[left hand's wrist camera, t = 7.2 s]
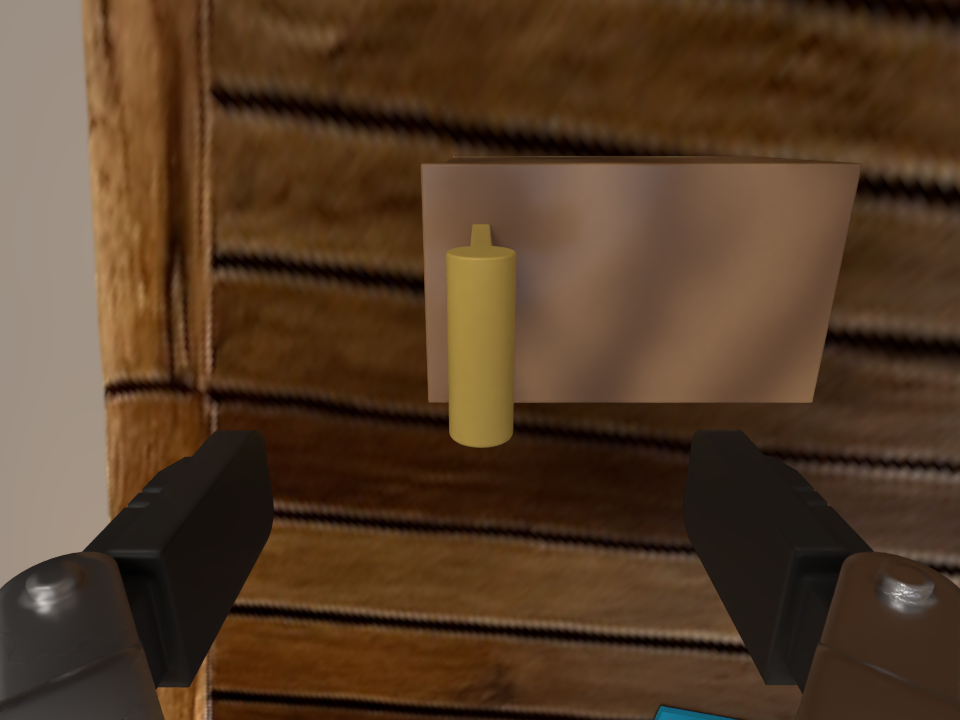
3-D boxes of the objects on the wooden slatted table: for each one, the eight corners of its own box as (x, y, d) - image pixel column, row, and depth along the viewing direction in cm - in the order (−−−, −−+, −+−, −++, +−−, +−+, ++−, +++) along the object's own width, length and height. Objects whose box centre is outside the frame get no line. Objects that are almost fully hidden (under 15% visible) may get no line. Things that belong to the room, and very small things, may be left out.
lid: (430, 394, 27) (407, 508, 19) (422, 162, 24) (390, 174, 15) (801, 394, 27) (945, 508, 19) (848, 162, 24) (1050, 175, 15)
